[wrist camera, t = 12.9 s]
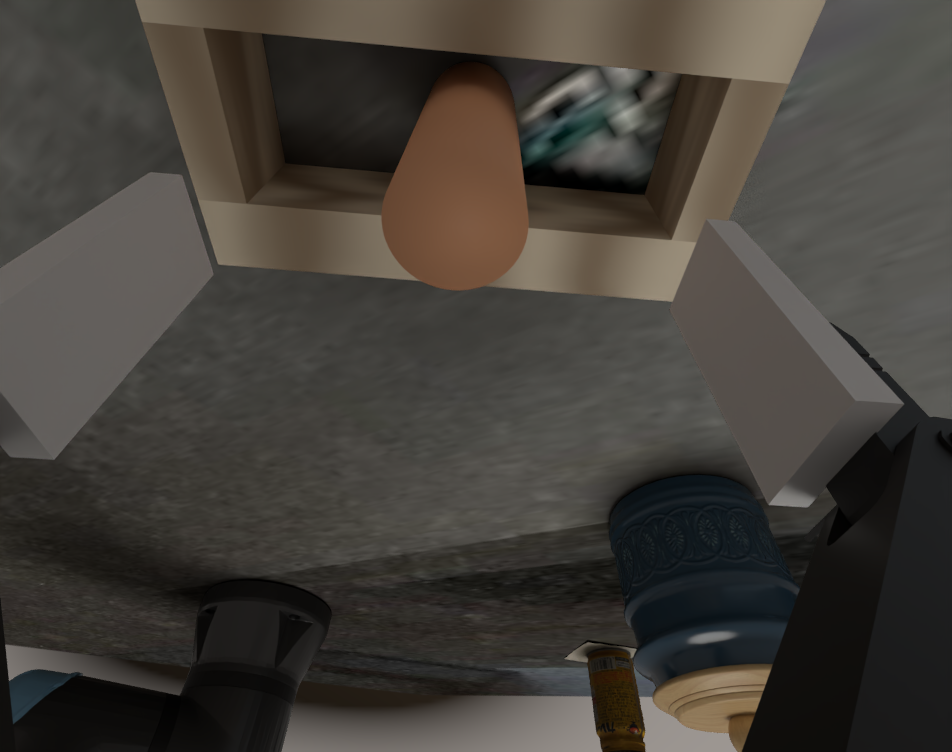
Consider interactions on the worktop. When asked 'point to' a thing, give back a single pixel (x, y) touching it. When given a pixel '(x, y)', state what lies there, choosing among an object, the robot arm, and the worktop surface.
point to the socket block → (489, 33)
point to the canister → (702, 597)
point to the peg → (460, 184)
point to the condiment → (614, 696)
